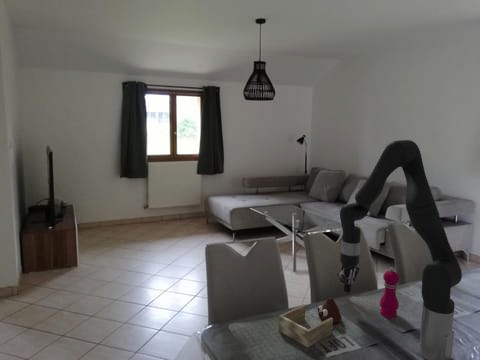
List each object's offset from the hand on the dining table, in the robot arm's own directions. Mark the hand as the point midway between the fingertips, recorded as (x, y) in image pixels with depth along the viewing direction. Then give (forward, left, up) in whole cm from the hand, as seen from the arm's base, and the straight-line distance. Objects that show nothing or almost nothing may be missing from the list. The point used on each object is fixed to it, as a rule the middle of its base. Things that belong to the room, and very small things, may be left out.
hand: (347, 291), depth 162 cm
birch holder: (0, +26, -8) cm, 27 cm away
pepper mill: (-13, -10, -8) cm, 19 cm away
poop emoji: (0, +12, -8) cm, 14 cm away
